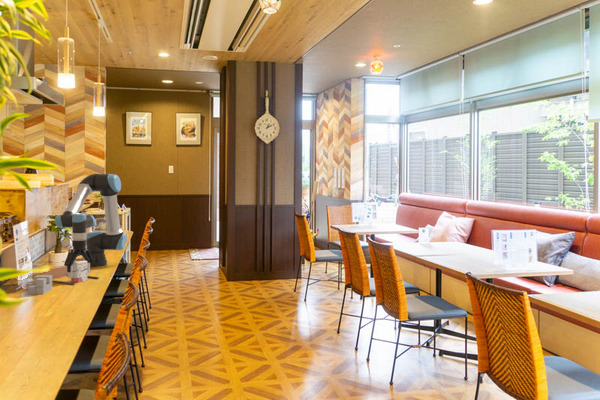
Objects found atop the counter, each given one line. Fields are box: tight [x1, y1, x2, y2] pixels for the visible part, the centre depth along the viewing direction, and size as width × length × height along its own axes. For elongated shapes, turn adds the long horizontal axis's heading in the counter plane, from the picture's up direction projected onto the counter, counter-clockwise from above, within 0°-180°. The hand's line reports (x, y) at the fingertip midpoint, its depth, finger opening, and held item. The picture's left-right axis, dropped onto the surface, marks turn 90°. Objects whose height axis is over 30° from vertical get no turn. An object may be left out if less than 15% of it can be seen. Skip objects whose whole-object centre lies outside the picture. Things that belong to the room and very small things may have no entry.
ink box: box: [70, 259, 88, 283], centre depth 312 cm, size 9×5×12 cm, turn 161°
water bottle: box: [81, 226, 93, 261], centre depth 388 cm, size 10×9×28 cm
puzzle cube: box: [26, 274, 53, 295], centre depth 283 cm, size 12×12×8 cm
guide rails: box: [52, 275, 100, 286], centre depth 315 cm, size 20×25×1 cm
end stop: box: [39, 265, 68, 280], centre depth 319 cm, size 20×2×6 cm, turn 158°
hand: (79, 275), depth 312 cm, fingers open, 13 cm apart
